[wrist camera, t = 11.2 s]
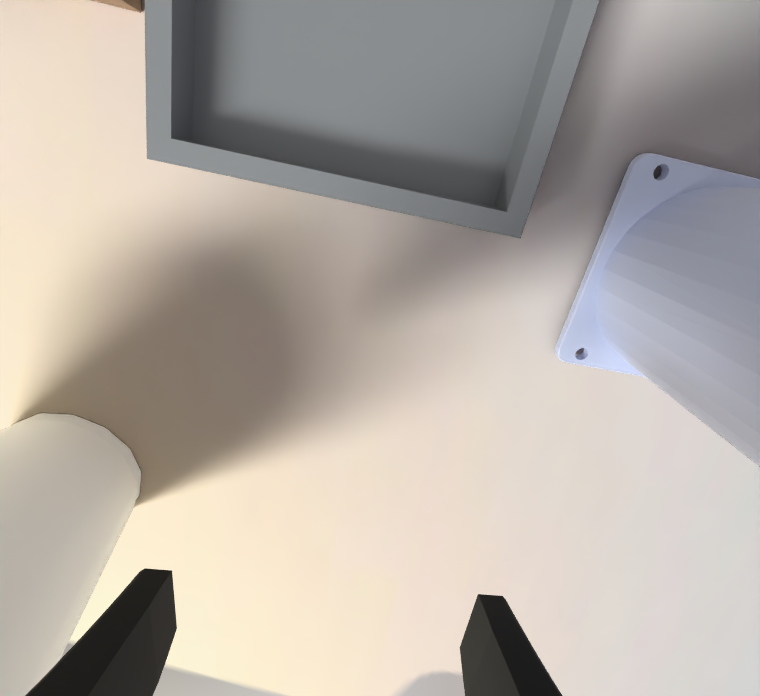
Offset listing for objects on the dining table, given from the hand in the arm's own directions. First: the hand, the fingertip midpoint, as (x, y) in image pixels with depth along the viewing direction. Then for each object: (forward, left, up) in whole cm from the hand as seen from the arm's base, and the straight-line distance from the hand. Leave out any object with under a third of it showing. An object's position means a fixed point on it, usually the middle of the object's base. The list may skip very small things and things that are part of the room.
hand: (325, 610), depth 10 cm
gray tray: (+2, -13, -9) cm, 16 cm away
